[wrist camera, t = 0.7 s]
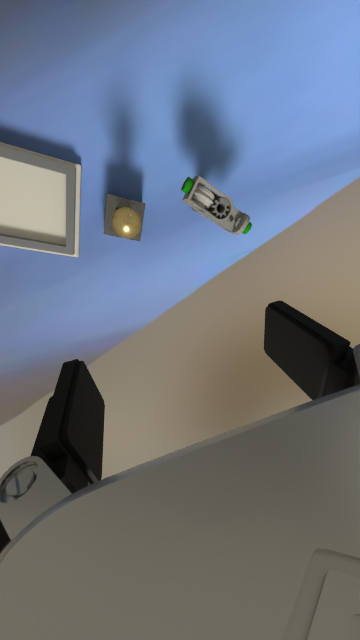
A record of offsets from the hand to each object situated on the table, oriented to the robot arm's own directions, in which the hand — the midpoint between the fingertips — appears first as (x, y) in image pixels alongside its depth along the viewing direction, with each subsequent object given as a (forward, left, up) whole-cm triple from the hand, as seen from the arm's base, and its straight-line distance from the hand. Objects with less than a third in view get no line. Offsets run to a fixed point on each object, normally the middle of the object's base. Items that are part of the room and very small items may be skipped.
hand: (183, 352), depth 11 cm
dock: (-3, -15, -29) cm, 33 cm away
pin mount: (-4, -2, -29) cm, 30 cm away
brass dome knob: (-4, -2, -26) cm, 26 cm away
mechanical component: (-8, +9, -30) cm, 32 cm away
